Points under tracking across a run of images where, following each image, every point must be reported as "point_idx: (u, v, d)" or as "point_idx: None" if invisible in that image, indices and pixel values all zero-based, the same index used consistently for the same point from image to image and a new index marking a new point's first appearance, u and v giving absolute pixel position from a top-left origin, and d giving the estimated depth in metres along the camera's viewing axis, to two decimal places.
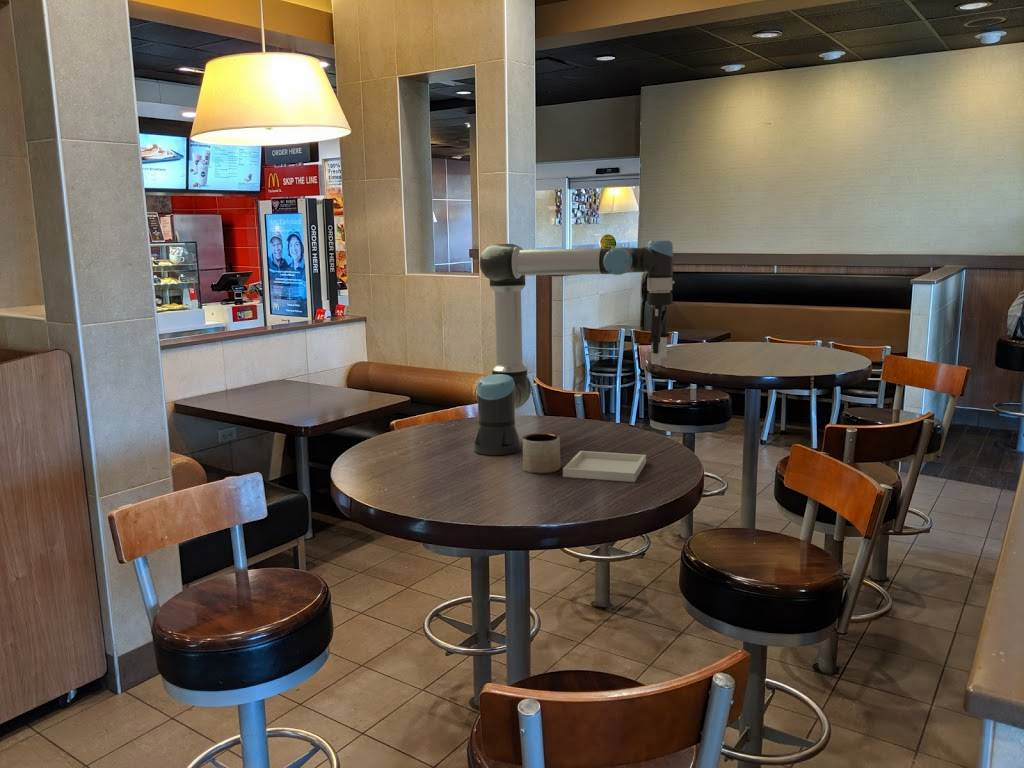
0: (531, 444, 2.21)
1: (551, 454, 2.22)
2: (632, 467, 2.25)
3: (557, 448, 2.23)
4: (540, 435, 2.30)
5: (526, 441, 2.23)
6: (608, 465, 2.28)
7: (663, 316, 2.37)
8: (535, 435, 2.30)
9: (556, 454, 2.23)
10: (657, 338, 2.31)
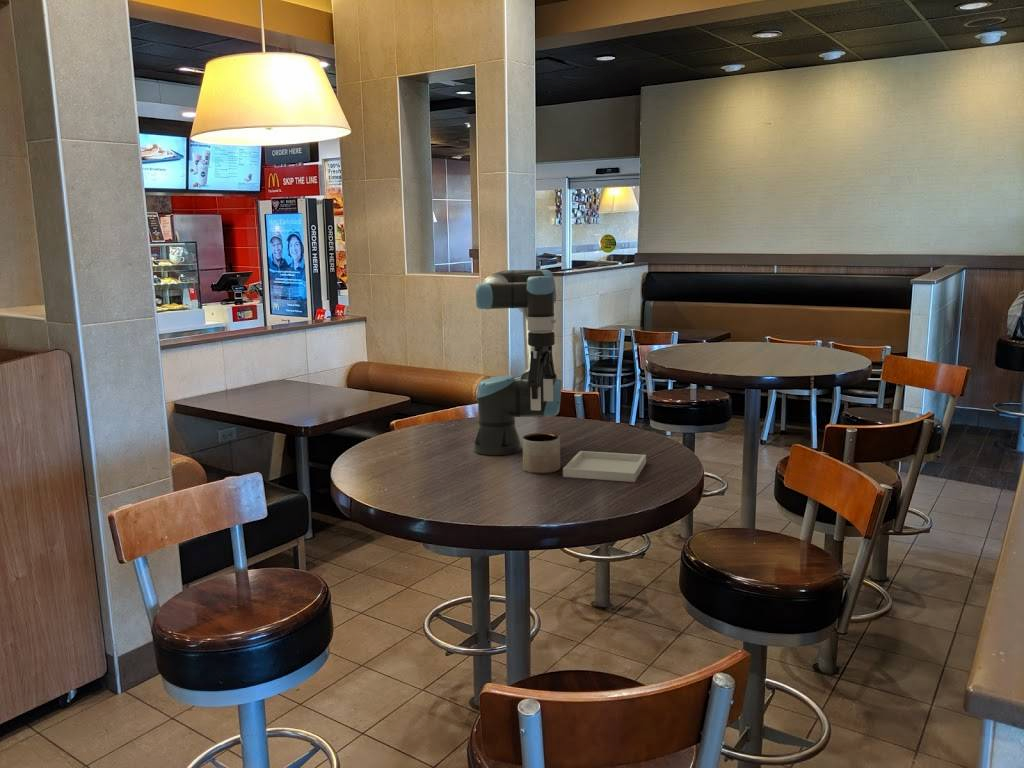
0: (531, 444, 2.21)
1: (551, 454, 2.22)
2: (632, 467, 2.25)
3: (557, 448, 2.23)
4: (540, 435, 2.30)
5: (526, 441, 2.23)
6: (608, 465, 2.28)
7: (544, 358, 2.19)
8: (535, 435, 2.30)
9: (556, 454, 2.23)
10: (535, 383, 2.13)
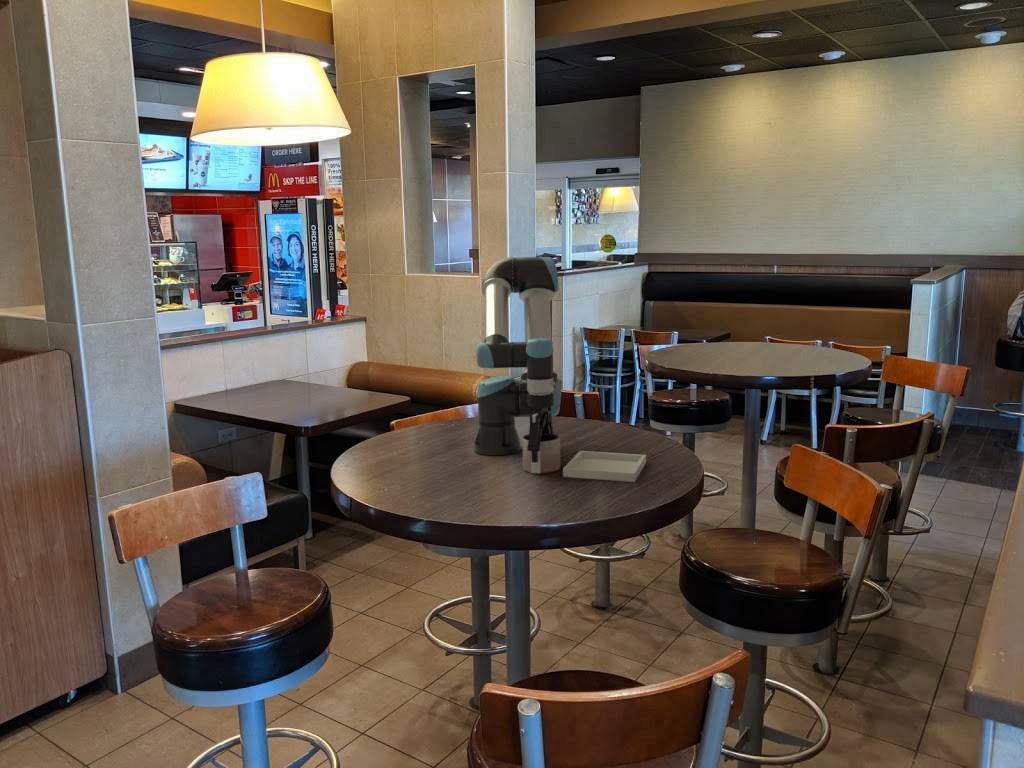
0: None
1: (551, 454, 2.22)
2: (632, 467, 2.25)
3: (557, 448, 2.23)
4: None
5: (526, 441, 2.23)
6: (608, 465, 2.28)
7: (543, 420, 2.22)
8: None
9: (556, 454, 2.23)
10: (534, 447, 2.17)
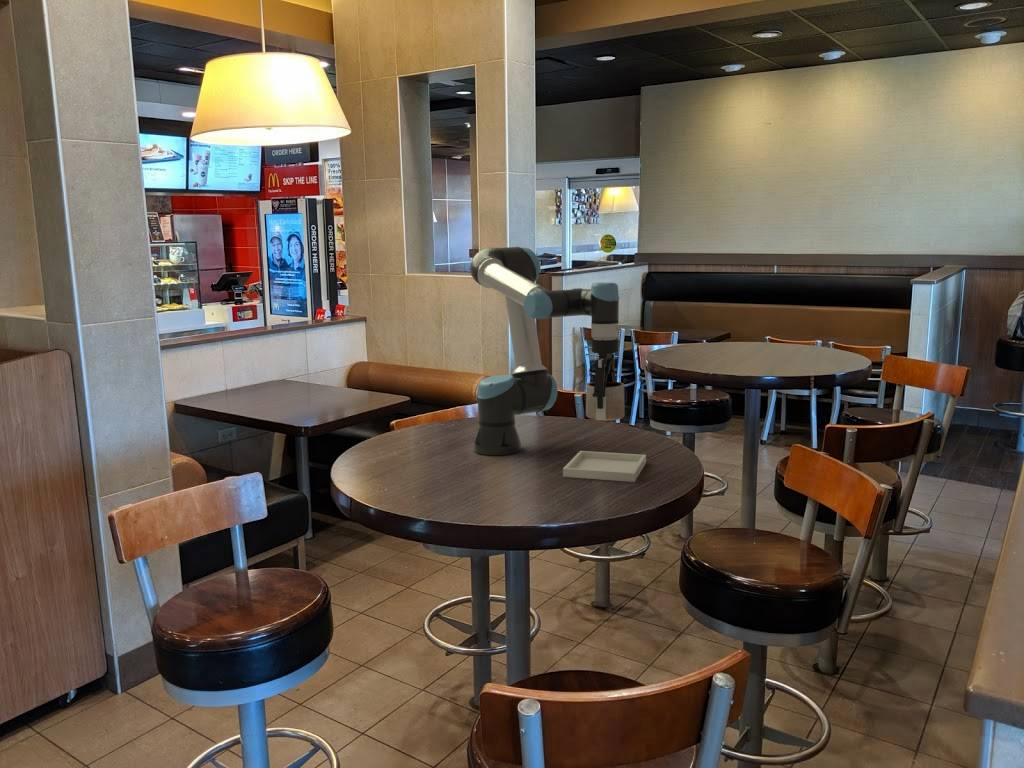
0: None
1: (617, 400, 2.17)
2: (632, 467, 2.25)
3: (622, 395, 2.19)
4: None
5: (591, 387, 2.18)
6: (608, 465, 2.28)
7: (608, 366, 2.17)
8: None
9: (621, 401, 2.18)
10: (601, 393, 2.12)
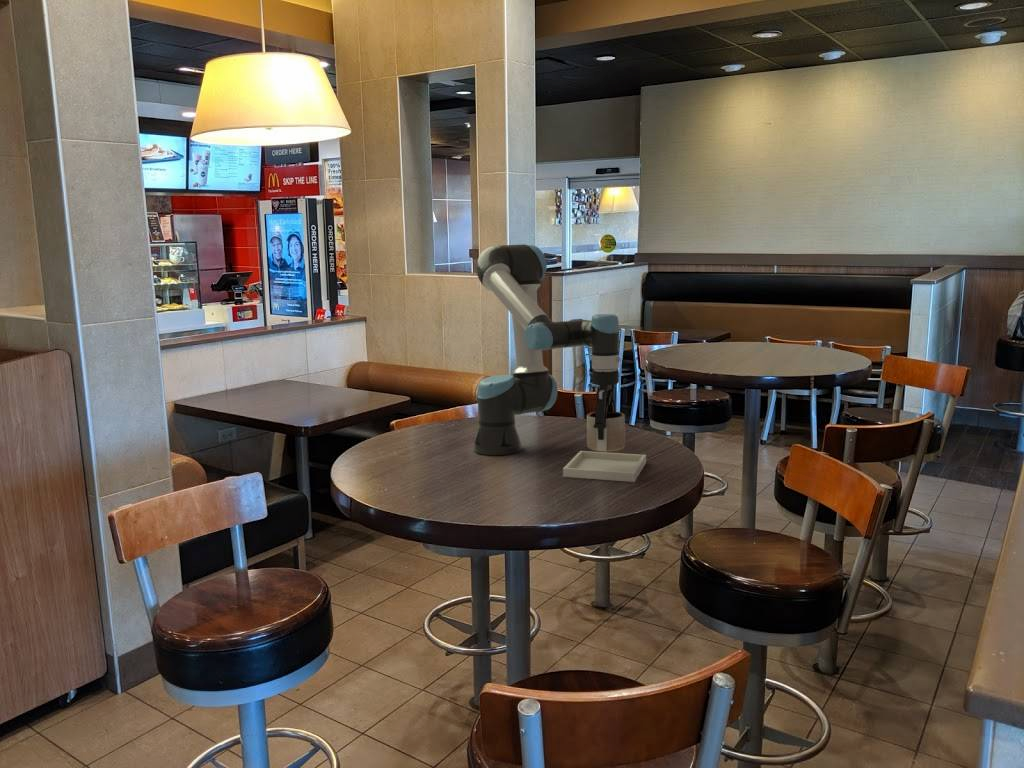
0: None
1: (617, 431, 2.19)
2: (632, 467, 2.25)
3: (623, 425, 2.20)
4: None
5: (591, 418, 2.19)
6: (608, 465, 2.28)
7: (609, 397, 2.19)
8: None
9: (622, 431, 2.20)
10: (601, 424, 2.14)
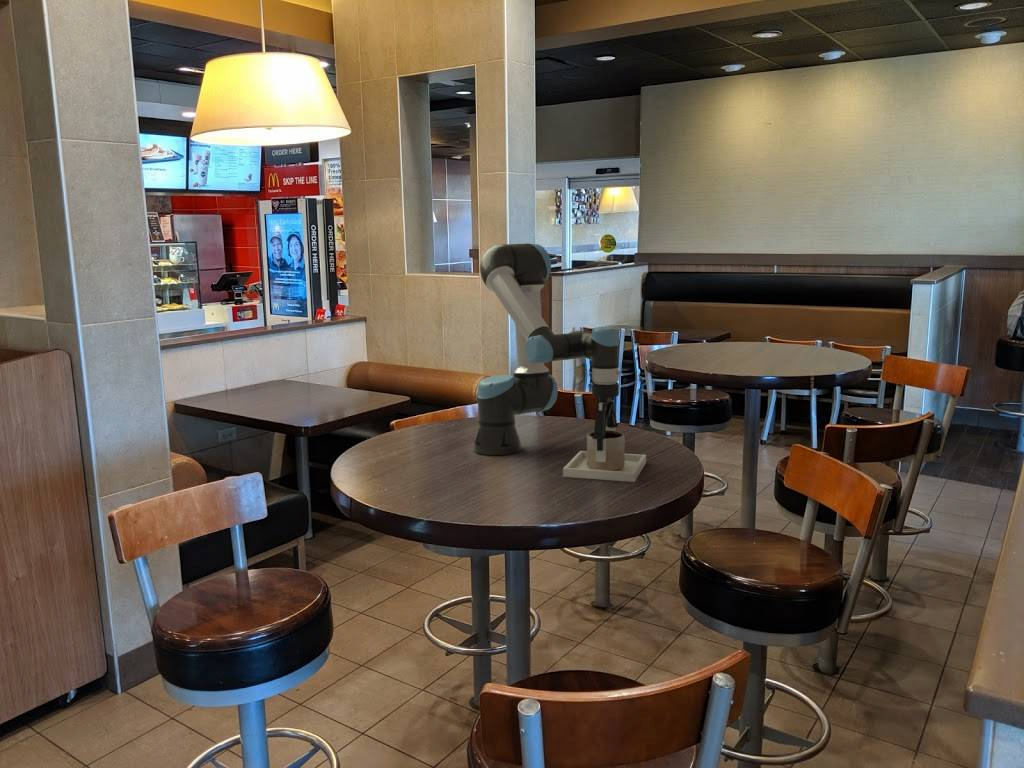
0: None
1: (617, 451, 2.20)
2: (632, 467, 2.25)
3: (622, 445, 2.21)
4: None
5: (591, 438, 2.21)
6: None
7: (608, 409, 2.19)
8: None
9: (621, 451, 2.21)
10: (601, 435, 2.14)
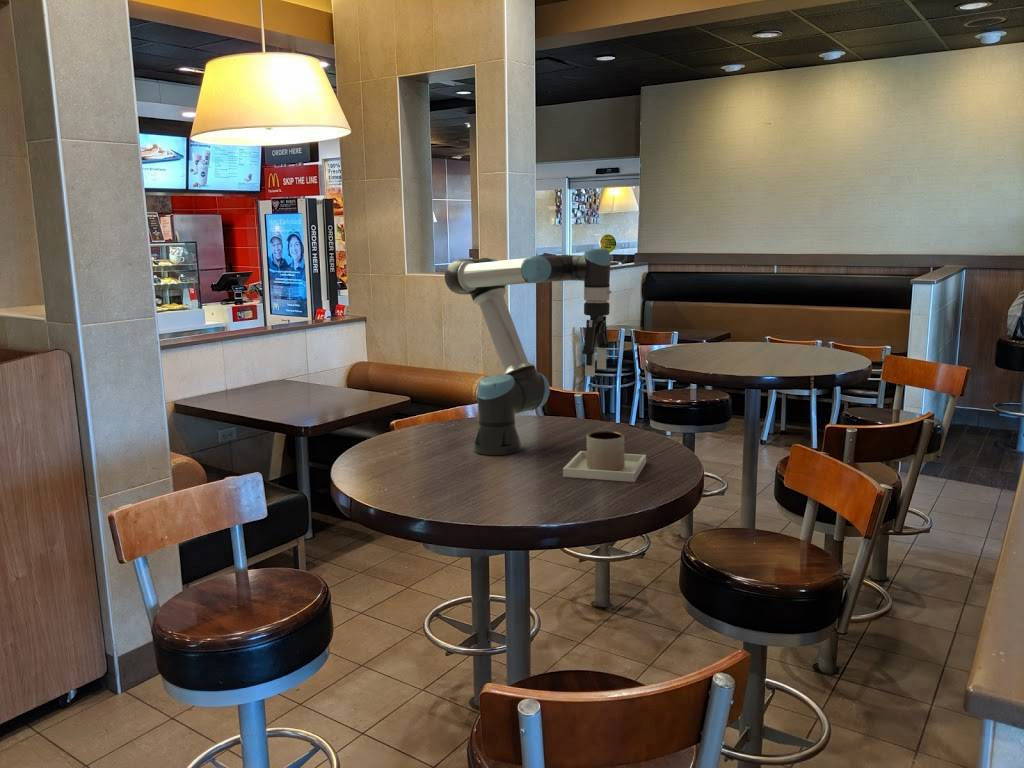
0: (596, 442, 2.19)
1: (617, 452, 2.20)
2: (632, 467, 2.25)
3: (622, 446, 2.21)
4: (603, 433, 2.28)
5: (591, 439, 2.20)
6: None
7: (599, 327, 2.30)
8: (598, 433, 2.28)
9: (621, 452, 2.21)
10: (590, 350, 2.24)
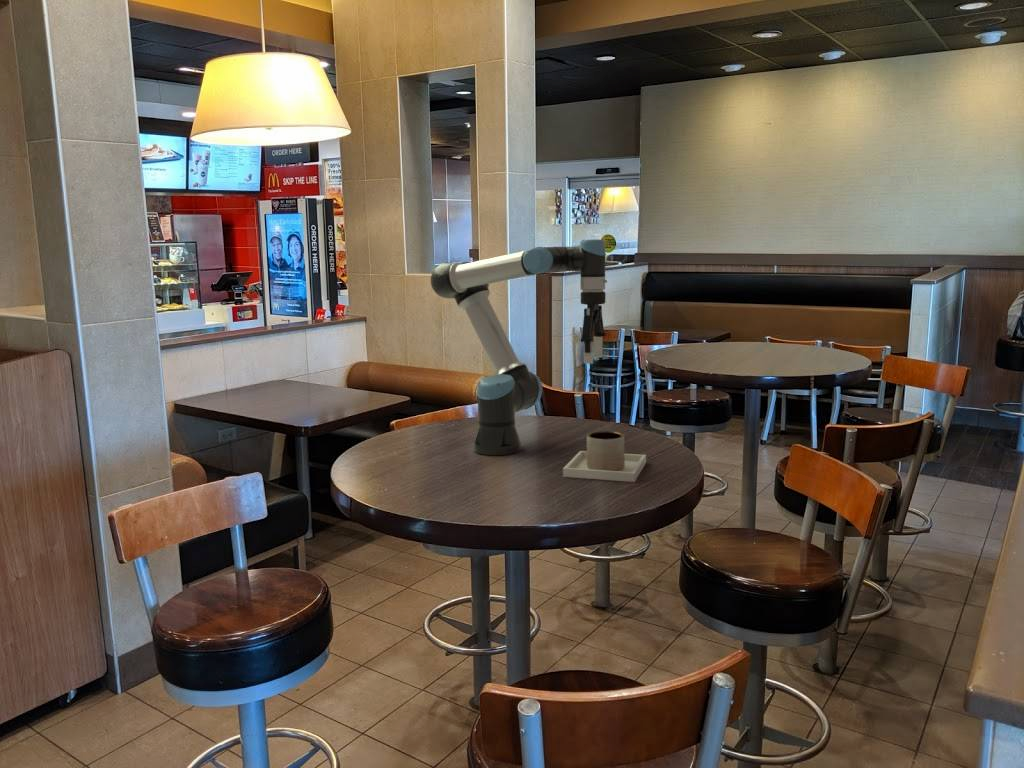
0: (596, 442, 2.19)
1: (617, 452, 2.20)
2: (632, 467, 2.25)
3: (622, 446, 2.21)
4: (603, 433, 2.28)
5: (591, 439, 2.20)
6: None
7: (596, 315, 2.36)
8: (598, 433, 2.28)
9: (621, 452, 2.21)
10: (588, 337, 2.31)
